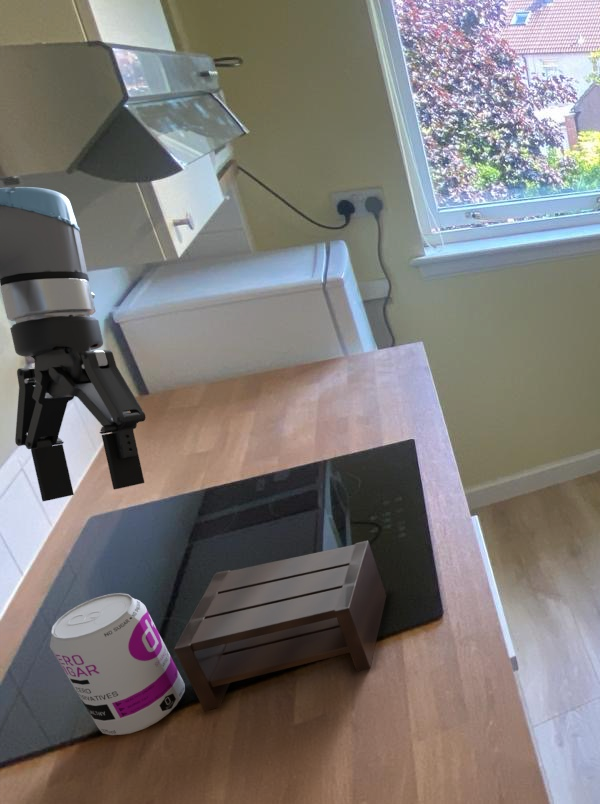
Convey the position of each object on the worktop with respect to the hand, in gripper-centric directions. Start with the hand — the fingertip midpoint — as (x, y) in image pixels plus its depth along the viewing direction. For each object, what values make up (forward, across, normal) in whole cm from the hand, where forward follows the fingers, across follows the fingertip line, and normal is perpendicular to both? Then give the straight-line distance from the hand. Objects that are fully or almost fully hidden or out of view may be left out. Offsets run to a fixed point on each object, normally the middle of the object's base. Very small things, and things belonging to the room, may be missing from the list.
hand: (93, 492), depth 88 cm
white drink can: (+27, -1, 0) cm, 27 cm away
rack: (+26, -12, -12) cm, 31 cm away
